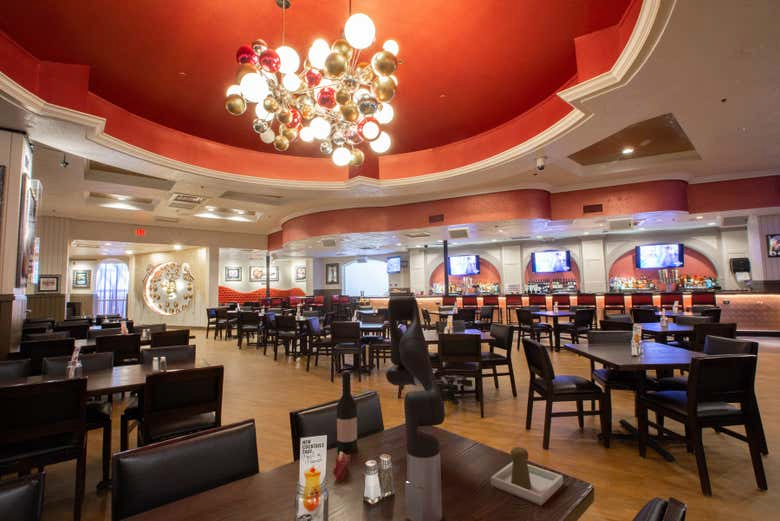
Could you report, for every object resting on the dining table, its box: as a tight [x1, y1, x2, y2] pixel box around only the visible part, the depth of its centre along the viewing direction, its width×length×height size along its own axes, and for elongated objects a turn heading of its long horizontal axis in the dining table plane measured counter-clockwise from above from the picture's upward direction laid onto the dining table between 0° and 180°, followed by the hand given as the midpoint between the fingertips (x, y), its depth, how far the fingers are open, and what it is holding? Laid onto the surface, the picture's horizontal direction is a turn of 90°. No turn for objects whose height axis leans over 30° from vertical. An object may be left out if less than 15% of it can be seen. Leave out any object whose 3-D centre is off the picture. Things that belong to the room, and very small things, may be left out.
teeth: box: [332, 452, 351, 483], centre depth 125 cm, size 10×8×15 cm
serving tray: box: [490, 461, 564, 507], centre depth 116 cm, size 16×16×2 cm
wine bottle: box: [336, 370, 358, 454], centre depth 146 cm, size 8×8×30 cm
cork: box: [510, 446, 531, 490], centre depth 115 cm, size 6×6×11 cm
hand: (464, 386), depth 129 cm, fingers open, 8 cm apart
